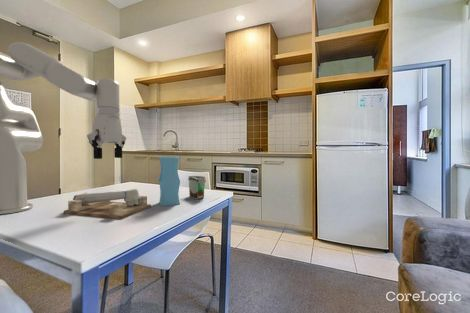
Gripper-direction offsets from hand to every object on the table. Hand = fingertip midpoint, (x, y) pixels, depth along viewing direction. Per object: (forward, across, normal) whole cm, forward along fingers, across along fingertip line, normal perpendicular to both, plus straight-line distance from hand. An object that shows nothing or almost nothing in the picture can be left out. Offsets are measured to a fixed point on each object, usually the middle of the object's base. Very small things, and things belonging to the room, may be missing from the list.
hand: (108, 158), depth 84 cm
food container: (+20, -30, +24) cm, 43 cm away
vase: (+20, -16, +16) cm, 30 cm away
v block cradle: (+20, 0, 0) cm, 20 cm away
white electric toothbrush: (+18, 0, 0) cm, 18 cm away
